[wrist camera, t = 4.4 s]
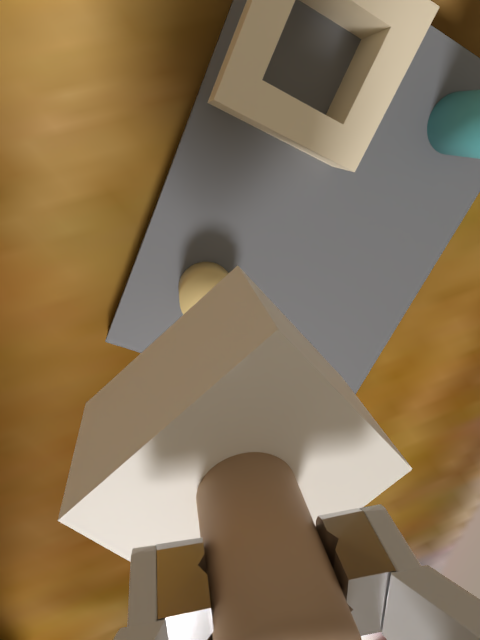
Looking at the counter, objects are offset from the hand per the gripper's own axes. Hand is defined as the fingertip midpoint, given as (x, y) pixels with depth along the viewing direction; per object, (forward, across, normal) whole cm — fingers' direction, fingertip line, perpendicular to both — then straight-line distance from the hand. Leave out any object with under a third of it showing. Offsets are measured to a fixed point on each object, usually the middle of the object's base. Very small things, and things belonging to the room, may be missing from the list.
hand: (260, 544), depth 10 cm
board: (+17, -7, -4) cm, 19 cm away
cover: (+7, 0, 0) cm, 7 cm away
